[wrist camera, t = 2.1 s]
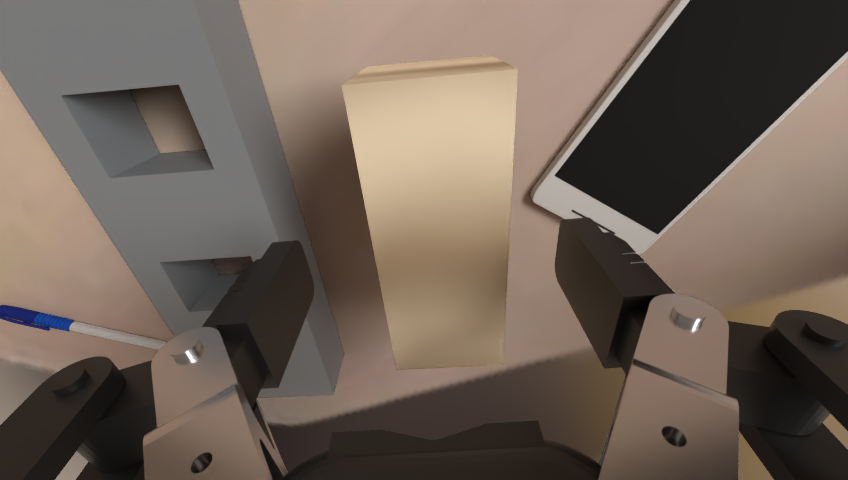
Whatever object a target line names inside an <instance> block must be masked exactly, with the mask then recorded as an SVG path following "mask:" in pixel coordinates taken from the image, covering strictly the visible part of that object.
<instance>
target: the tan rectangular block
mask: <svg viewBox="0 0 848 480" xmlns="http://www.w3.org/2000/svg"><path fill="white" fill-rule="evenodd" d="M517 75H518V69H517V68H515V67H513V66H511V65H509V64H507V63H505V62H503V61H501V60H499V59H497V58H495V57H493V56H491V55H486V56H476V57H465V58H454V59H444V60H433V61H423V62H412V63H401V64H391V65H380V66H370V67H366V68H365V69H363V70H362V71H361V72H359V73H358V74H356V75H355V76H354V77H352V78H351V79H349V80H348V81H347V82H345V83H344V84H343V85H342V90H343V95H344V100H345V105H346V111H347V116H348V121H349V126H350V131H351V137H352V142H353V147H354V152H355V157H356V163H357V168H358V173H359V178H360V183H361V188H362V194H363V199H364V204H365V209H366V214H367V220H368V225H369V230H370V235H371V240H372V245H373V251H374V256H375V261H376V266H377V271H378V277H379V282H380V287H381V292H382V297H383V303H384V308H385V313H386V318H387V323H388V328H389V334H390V339H391V344H392V349H393V354H394V360H395V365H396V370H404V369H425V368H445V367H466V366H486V365H503V352H504V332H505V312H506V292H507V273H508V253H509V233H510V213H511V194H512V174H513V154H514V134H515V114H516V95H517Z"/></svg>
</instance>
